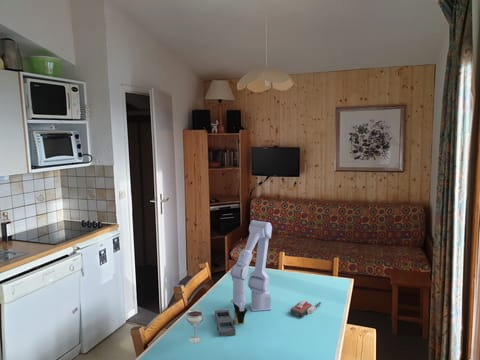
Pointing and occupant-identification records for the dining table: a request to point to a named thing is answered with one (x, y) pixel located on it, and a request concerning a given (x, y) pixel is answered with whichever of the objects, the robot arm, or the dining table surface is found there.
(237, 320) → the nut block
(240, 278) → the robot arm
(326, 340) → the dining table surface
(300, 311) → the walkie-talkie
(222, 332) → the grey compartment tray
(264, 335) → the dining table surface
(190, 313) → the wineglass
